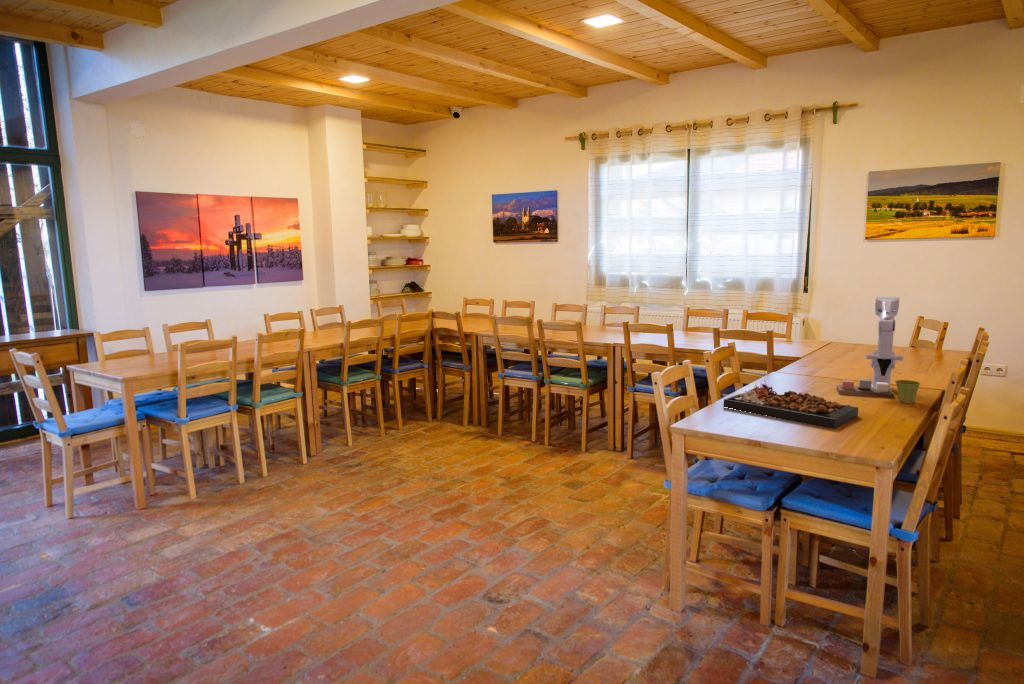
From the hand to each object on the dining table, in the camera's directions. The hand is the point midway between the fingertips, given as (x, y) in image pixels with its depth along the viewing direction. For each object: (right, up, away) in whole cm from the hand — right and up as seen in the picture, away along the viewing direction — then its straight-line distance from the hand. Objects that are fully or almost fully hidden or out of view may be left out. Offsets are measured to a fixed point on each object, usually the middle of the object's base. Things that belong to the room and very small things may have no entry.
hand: (882, 375), depth 290 cm
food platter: (-55, -15, -27) cm, 63 cm away
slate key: (-6, -6, +4) cm, 9 cm away
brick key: (-13, -6, +6) cm, 16 cm away
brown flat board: (-6, -9, +4) cm, 11 cm away
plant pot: (+3, -11, -12) cm, 16 cm away
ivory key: (0, -7, +1) cm, 7 cm away
